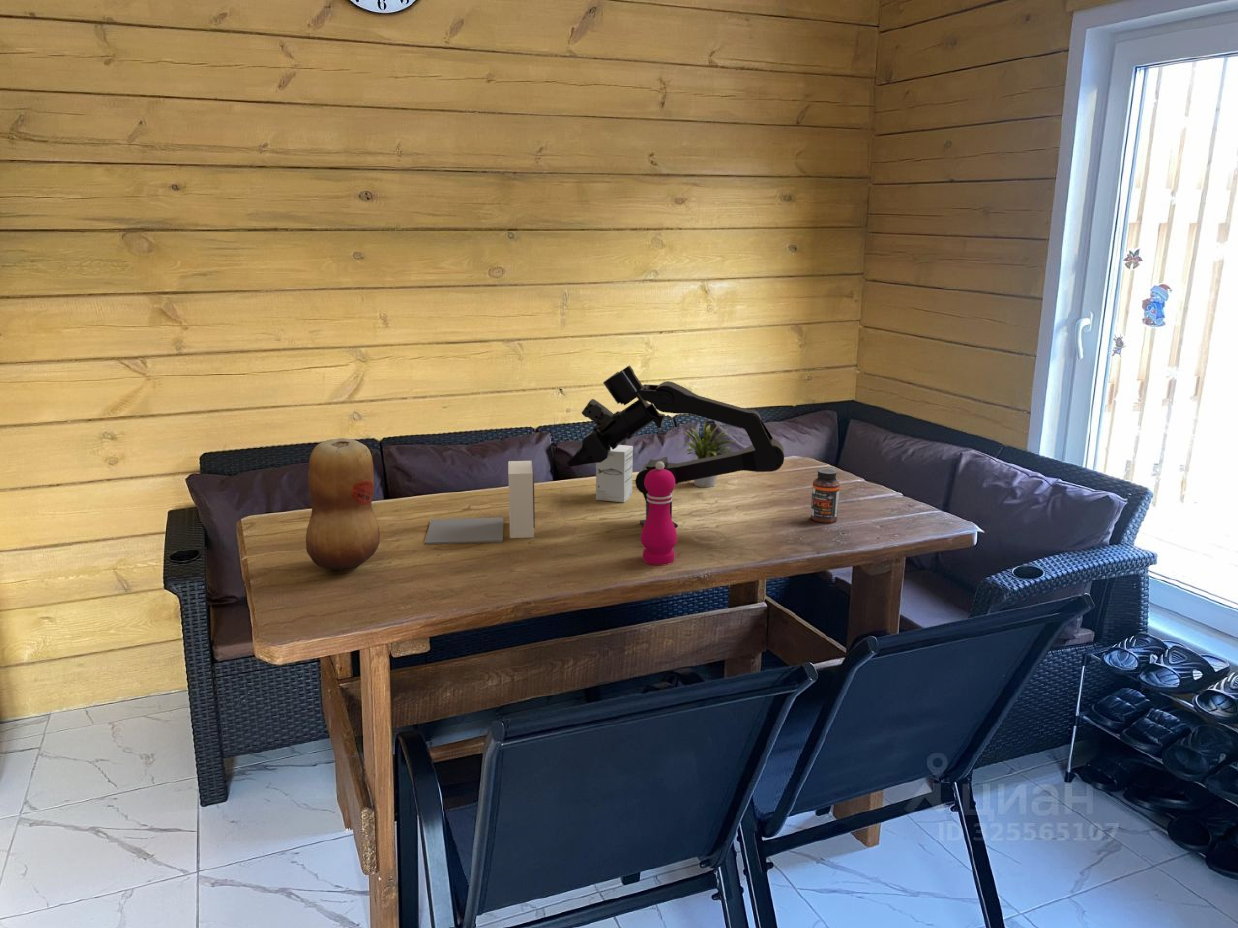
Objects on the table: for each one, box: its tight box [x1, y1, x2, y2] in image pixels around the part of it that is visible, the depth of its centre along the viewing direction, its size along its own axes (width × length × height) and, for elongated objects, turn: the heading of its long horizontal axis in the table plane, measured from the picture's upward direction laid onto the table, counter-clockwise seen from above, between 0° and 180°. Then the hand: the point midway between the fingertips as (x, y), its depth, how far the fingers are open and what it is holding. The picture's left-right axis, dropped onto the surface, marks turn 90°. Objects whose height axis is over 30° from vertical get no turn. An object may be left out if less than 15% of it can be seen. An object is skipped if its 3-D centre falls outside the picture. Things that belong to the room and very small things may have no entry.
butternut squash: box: [305, 437, 381, 571], centre depth 181 cm, size 14×13×25 cm
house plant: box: [685, 421, 734, 488], centre depth 241 cm, size 14×14×16 cm
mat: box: [424, 517, 504, 545], centre depth 206 cm, size 16×16×1 cm
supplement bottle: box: [810, 468, 840, 524], centre depth 214 cm, size 6×6×11 cm
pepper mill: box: [640, 461, 678, 566], centre depth 186 cm, size 7×7×20 cm
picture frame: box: [507, 460, 536, 539], centre depth 206 cm, size 5×11×14 cm, turn 6°
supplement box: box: [595, 444, 634, 503], centre depth 230 cm, size 7×7×13 cm
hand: (572, 459), depth 210 cm, fingers open, 9 cm apart
